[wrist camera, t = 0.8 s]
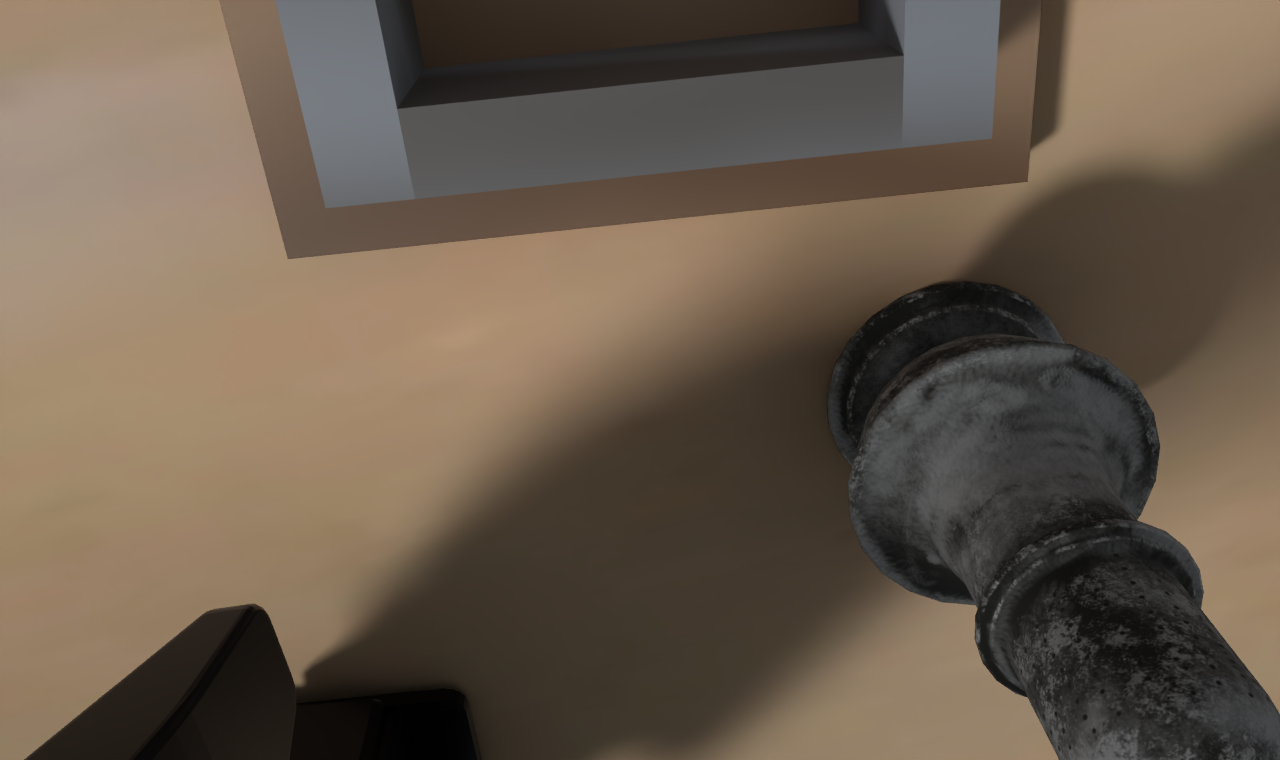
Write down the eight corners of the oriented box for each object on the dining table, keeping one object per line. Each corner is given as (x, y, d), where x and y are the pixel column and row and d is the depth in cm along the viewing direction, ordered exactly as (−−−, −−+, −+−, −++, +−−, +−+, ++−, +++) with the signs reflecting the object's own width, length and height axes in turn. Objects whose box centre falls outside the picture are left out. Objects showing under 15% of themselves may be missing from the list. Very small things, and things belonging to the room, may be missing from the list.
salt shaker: (1073, 237, 22) (1547, 636, 11) (1088, 472, 24) (1480, 975, 14) (790, 307, 22) (980, 756, 11) (836, 530, 25) (1025, 1061, 14)
